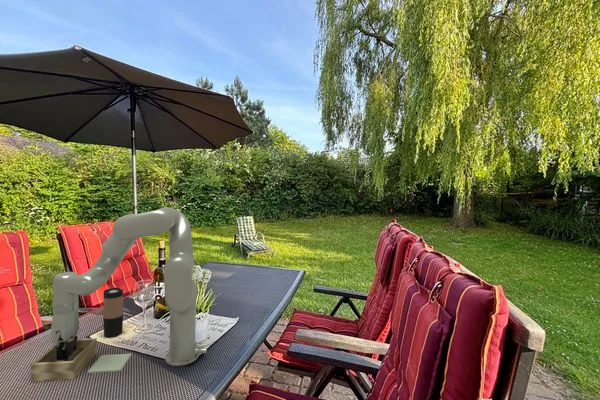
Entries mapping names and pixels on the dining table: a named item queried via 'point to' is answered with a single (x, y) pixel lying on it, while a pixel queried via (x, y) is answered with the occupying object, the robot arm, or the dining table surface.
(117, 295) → the travel mug
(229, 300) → the dining table surface
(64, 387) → the dining table surface
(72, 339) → the sundae
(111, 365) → the mat
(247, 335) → the dining table surface
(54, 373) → the crate
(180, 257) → the robot arm
